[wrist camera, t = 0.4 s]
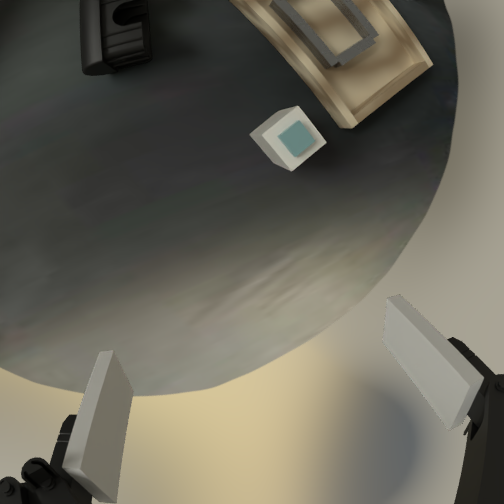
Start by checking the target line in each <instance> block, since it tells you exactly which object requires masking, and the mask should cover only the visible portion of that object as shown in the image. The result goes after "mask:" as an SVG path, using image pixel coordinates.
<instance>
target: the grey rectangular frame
mask: <svg viewBox="0 0 504 504" xmlns="http://www.w3.org/2000/svg"><path fill="white" fill-rule="evenodd" d="M331 1H332V2H333V3H334V5H335V6H336V7H337V8H338V9H339V10H340V11H341V13H342V14H343V15H344V16H345V17H346V18H347V20H348V21H349V22H350V23H351V25H352V26H353V27H354V28H355V30H356V31H357V32H358V33H359V35H360V36H361V37H362V39H361V40H359V41H358V42H356V43H355V44H353V45H352V46H350V47H349V48H347V49H345V50H344V51H342V52H341V53H339V54H338V55H337V56H335V55H334V54H333V53H332V52H331V50H330V49H329V48H328V47H327V46H326V44H325V43H324V42H323V41H322V40H321V38H320V37H319V36H318V35H317V34H316V33H315V31H314V30H313V29H312V28H311V27H310V26H309V25H308V23H307V22H306V21H305V20H304V19H303V18H302V17H301V16H300V15H299V14H298V12H297V11H296V10H295V9H294V8H293V7H292V6H291V5H290V4H289V3H288V2H287V0H272V2H271V3H270V5H269V6H270V7H271V8H272V9H273V10H274V11H275V13H276V14H277V15H278V16H279V17H280V18H281V19H282V20H283V21H284V22H285V23H286V24H287V25H288V26H289V27H290V29H291V30H292V31H293V32H294V33H295V34H296V35H297V36H298V37H299V39H300V40H301V41H302V42H303V43H304V44H305V45H306V47H307V48H308V49H309V50H310V51H311V53H312V54H313V55H314V56H315V57H316V59H317V60H318V61H319V62H320V63H321V65H322V66H323V67H324V68H325V69H327V68H330V67H332V66H334V67H335V68H337V67H340V66H342V65H344V64H345V63H347V62H348V61H350V60H351V59H353V58H354V57H355V56H357V55H358V54H360V53H361V52H363V51H364V50H366V49H367V48H369V47H370V46H372V45H373V44H375V43H376V42H375V41H374V38H375V37H377V36H378V35H379V34H378V33H377V31H376V30H375V29H374V27H373V26H372V25H371V23H370V22H369V21H368V20H367V18H366V17H365V16H364V15H363V13H362V12H361V11H360V10H359V9H358V7H357V6H356V5H355V4H354V3H353V1H352V0H331Z"/></svg>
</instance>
